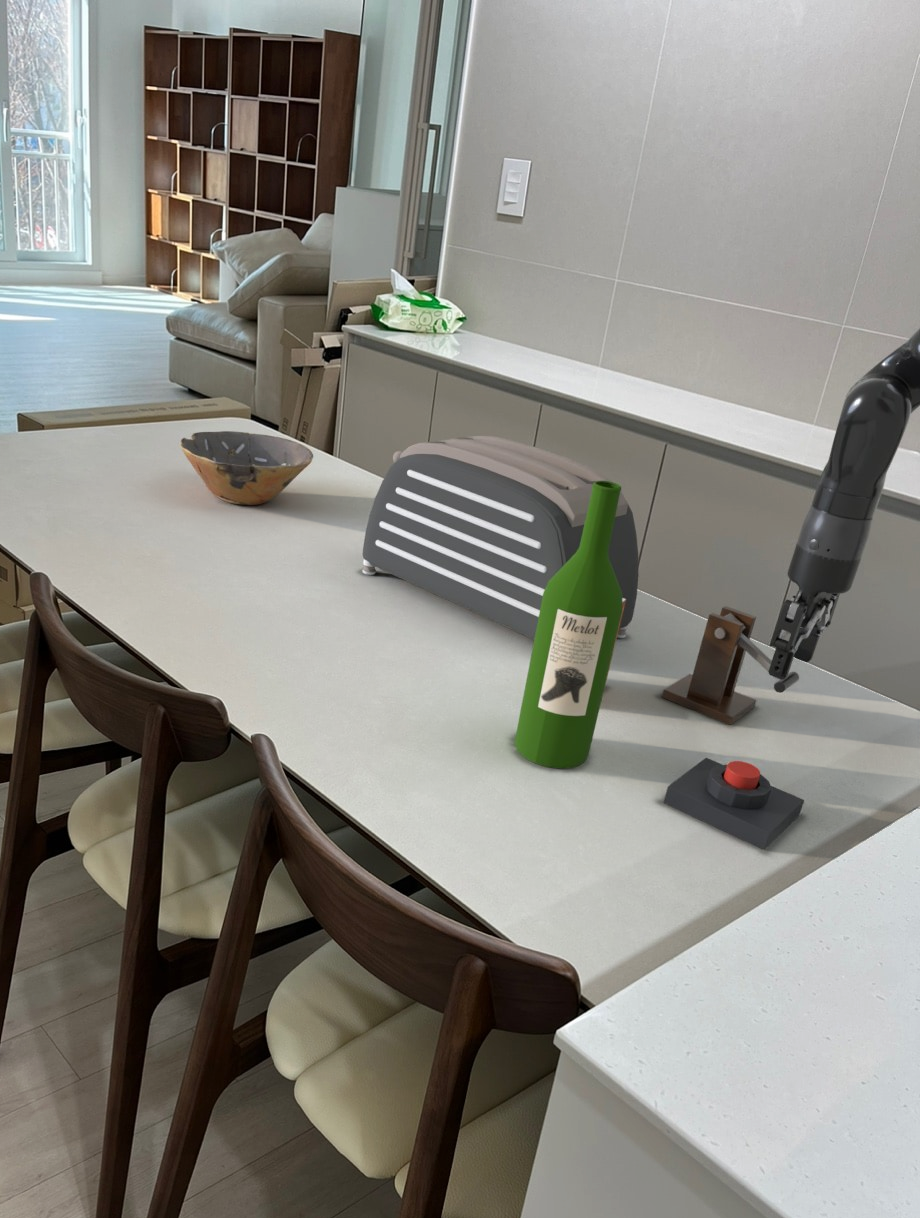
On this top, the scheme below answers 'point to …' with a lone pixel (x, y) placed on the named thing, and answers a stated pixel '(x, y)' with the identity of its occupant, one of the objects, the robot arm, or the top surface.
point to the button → (742, 775)
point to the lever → (764, 660)
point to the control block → (734, 804)
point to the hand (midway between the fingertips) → (789, 667)
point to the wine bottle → (573, 645)
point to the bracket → (717, 670)
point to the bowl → (245, 464)
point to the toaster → (490, 526)
